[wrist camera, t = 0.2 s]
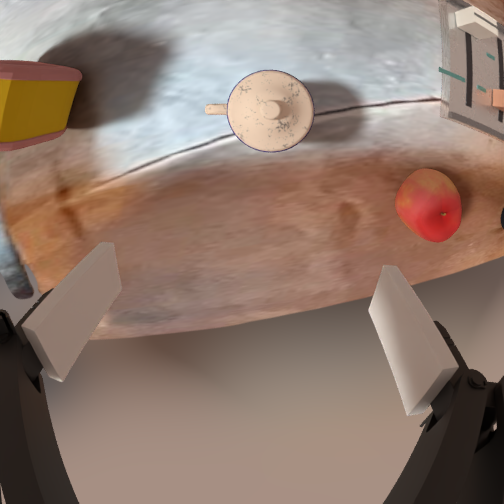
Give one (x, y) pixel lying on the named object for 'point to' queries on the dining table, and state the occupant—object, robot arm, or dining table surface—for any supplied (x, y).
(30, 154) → the dining table surface
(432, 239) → the apple
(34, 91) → the alarm clock
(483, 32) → the fader
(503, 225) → the black water bottle
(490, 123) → the console
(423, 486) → the robot arm
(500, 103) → the fader
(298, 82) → the teacup with lid
